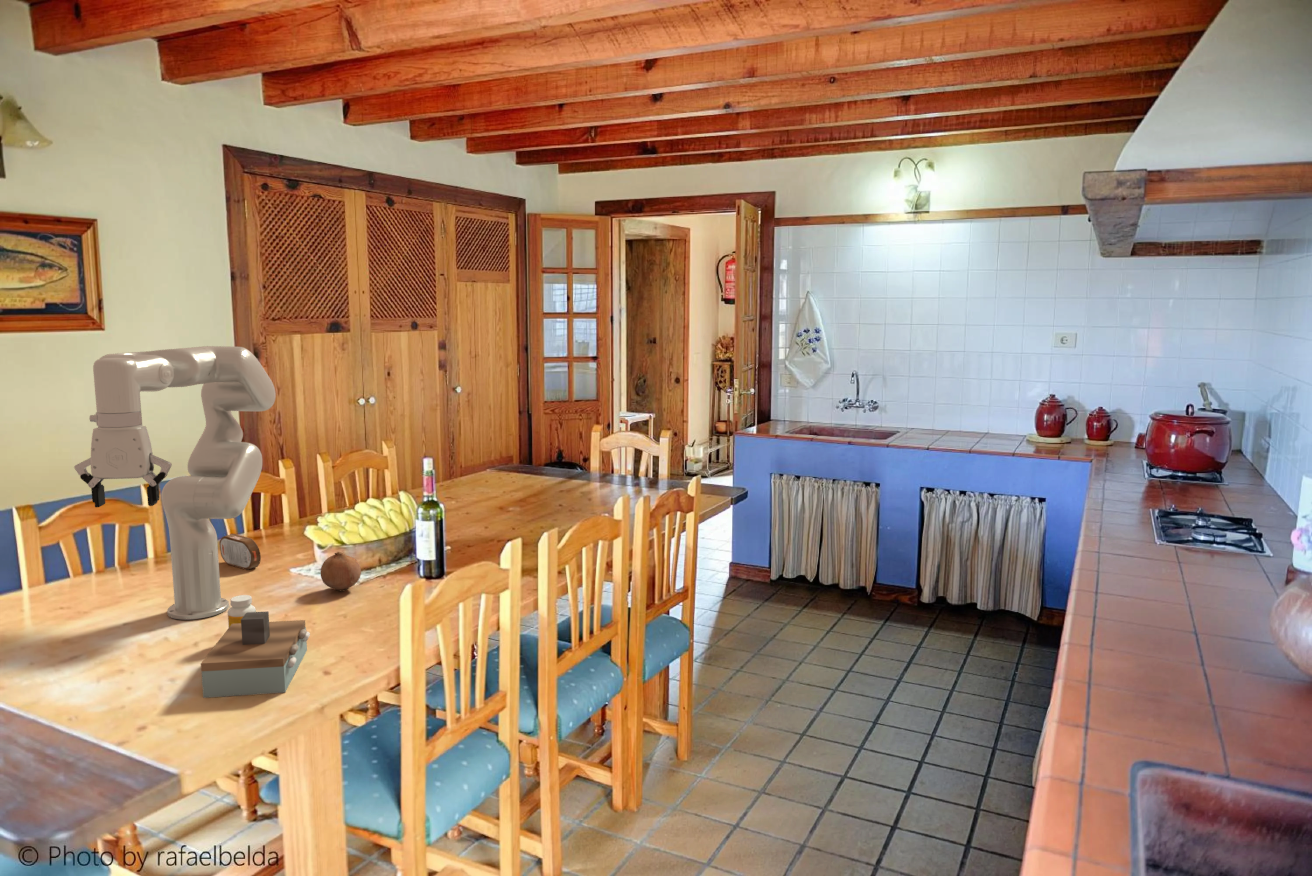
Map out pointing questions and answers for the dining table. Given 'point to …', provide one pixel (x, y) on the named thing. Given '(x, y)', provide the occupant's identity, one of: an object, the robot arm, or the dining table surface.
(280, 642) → the door
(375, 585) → the dining table surface
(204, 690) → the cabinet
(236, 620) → the supplement bottle
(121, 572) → the dining table surface
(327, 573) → the onion
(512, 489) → the dining table surface
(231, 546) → the tin
